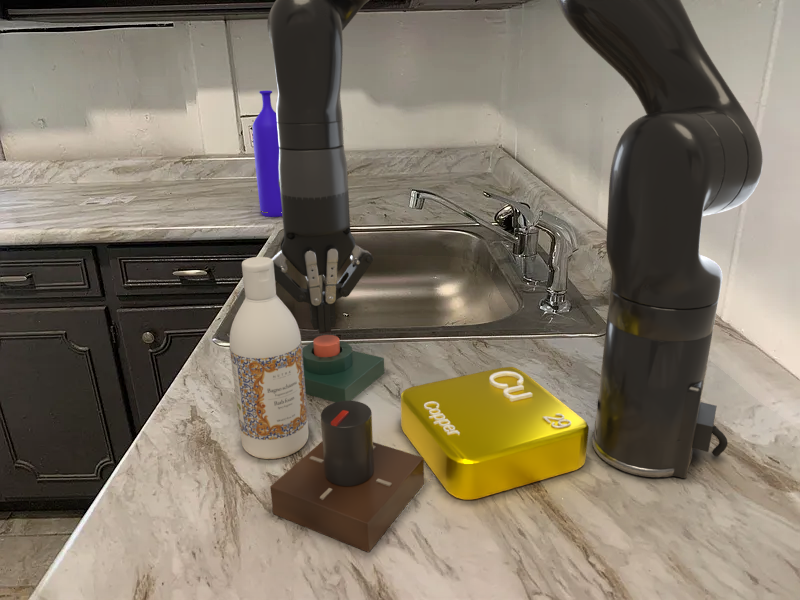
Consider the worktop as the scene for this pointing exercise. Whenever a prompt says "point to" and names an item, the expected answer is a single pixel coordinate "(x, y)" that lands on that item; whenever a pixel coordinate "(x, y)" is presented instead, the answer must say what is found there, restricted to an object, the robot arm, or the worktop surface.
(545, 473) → the element tile
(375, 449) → the dial panel
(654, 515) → the worktop surface
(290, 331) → the bath foam
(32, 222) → the worktop surface
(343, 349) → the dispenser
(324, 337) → the red button cap
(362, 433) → the dial
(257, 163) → the bottle
